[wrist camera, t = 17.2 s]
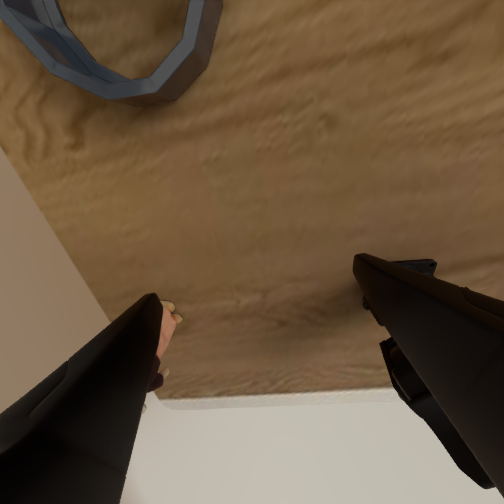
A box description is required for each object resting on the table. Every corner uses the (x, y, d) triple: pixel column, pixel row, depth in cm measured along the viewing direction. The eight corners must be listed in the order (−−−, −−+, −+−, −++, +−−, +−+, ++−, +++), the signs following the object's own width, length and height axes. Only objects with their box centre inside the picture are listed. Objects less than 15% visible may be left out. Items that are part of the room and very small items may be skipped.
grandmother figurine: (140, 298, 27) (54, 414, 16) (165, 290, 26) (93, 406, 15) (174, 336, 30) (123, 453, 19) (197, 330, 29) (157, 449, 18)
